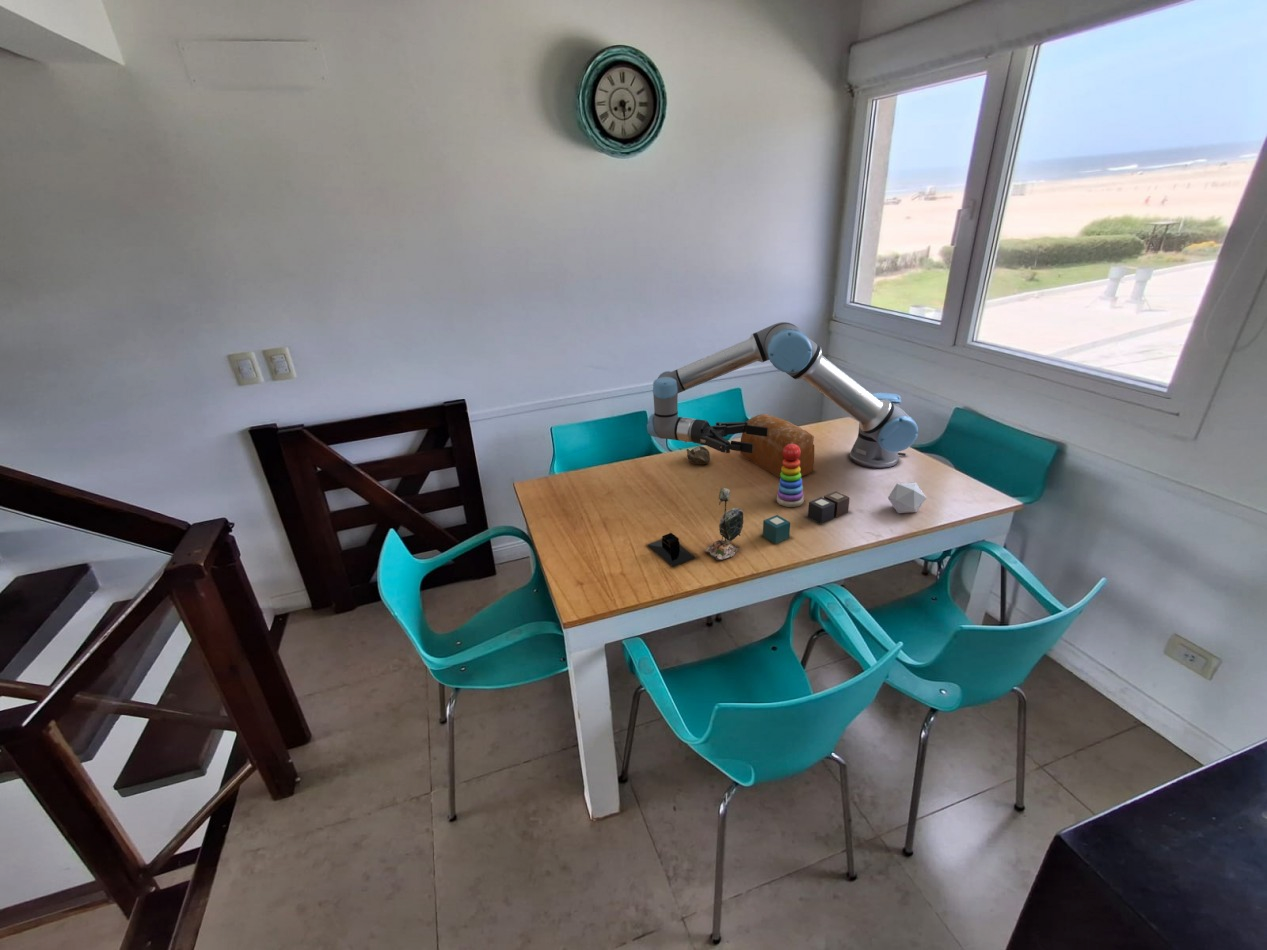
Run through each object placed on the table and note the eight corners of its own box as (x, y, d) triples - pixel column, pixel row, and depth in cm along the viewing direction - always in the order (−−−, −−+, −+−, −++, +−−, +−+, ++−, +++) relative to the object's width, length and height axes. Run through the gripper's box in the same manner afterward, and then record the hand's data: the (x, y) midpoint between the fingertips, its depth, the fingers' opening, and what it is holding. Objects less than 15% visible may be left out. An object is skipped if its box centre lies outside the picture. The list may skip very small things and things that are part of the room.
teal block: (776, 530, 154) (777, 514, 152) (789, 538, 150) (790, 521, 148) (762, 536, 152) (763, 519, 150) (775, 544, 148) (776, 527, 146)
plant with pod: (752, 551, 146) (754, 483, 137) (715, 564, 142) (715, 494, 133) (734, 537, 152) (735, 471, 144) (699, 549, 148) (697, 482, 140)
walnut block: (834, 505, 164) (836, 490, 162) (848, 512, 160) (850, 496, 158) (822, 510, 162) (823, 495, 160) (836, 517, 158) (837, 501, 156)
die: (919, 523, 154) (937, 491, 153) (891, 508, 154) (909, 476, 153) (904, 518, 162) (921, 488, 162) (877, 504, 162) (895, 473, 161)
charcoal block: (820, 511, 162) (821, 496, 159) (833, 518, 158) (835, 503, 155) (807, 517, 159) (808, 501, 157) (821, 524, 156) (822, 508, 153)
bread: (784, 482, 180) (786, 437, 173) (736, 455, 201) (737, 414, 195) (817, 472, 185) (821, 428, 178) (767, 447, 207) (769, 406, 200)
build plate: (647, 546, 152) (646, 531, 150) (670, 537, 155) (669, 523, 153) (673, 567, 142) (672, 551, 140) (696, 557, 145) (695, 542, 143)
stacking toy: (805, 498, 170) (809, 441, 162) (801, 510, 163) (805, 451, 155) (779, 494, 173) (782, 438, 165) (773, 506, 166) (776, 448, 158)
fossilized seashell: (681, 451, 202) (687, 466, 194) (691, 437, 199) (697, 452, 191) (698, 458, 205) (705, 473, 197) (708, 444, 202) (715, 459, 194)
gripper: (709, 428, 186) (772, 436, 176) (677, 456, 166) (745, 468, 157) (709, 407, 182) (773, 414, 173) (676, 433, 163) (746, 443, 153)
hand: (760, 439), depth 165 cm, fingers open, 13 cm apart
